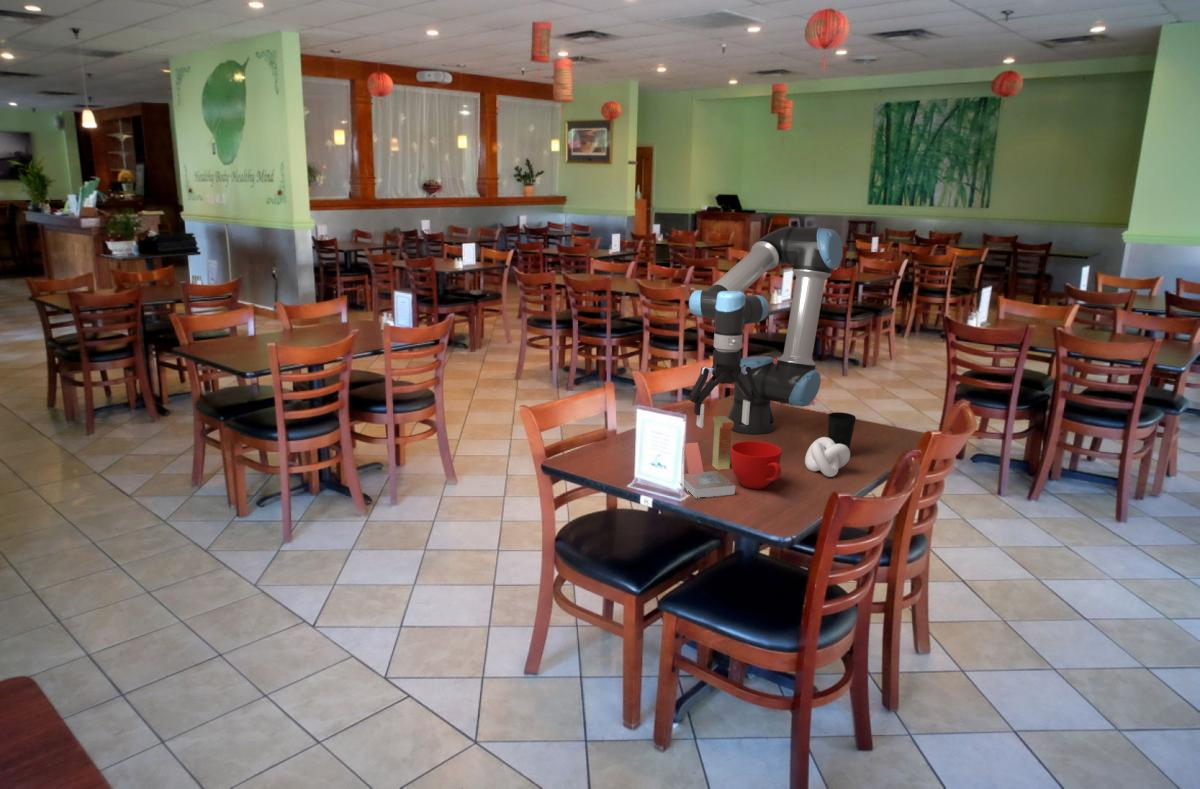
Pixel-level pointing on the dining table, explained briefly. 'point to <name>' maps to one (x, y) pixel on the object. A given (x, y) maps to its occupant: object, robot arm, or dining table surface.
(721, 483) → the socket block
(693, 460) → the reddish flat block
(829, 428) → the cup
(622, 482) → the dining table surface
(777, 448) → the ceramic cup
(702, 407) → the robot arm
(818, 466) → the white knot
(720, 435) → the khaki tall block
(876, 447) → the dining table surface
